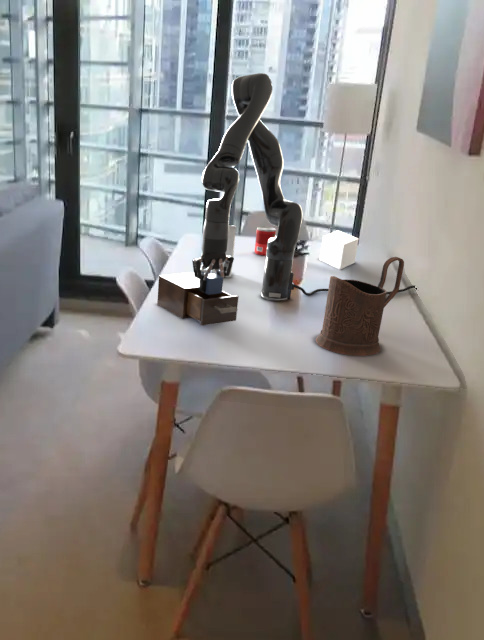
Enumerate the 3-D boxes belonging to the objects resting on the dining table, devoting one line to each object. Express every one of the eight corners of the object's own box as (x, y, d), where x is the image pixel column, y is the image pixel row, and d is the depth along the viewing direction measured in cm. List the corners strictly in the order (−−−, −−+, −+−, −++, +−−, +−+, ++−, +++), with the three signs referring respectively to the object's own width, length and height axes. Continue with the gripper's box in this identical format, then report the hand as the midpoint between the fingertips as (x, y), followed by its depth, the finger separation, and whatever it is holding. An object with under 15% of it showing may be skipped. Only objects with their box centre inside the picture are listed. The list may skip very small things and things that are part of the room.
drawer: (245, 325, 218) (248, 300, 214) (210, 330, 212) (213, 305, 209) (209, 307, 233) (211, 283, 230) (176, 311, 227) (178, 287, 224)
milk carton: (230, 278, 271) (235, 227, 263) (211, 276, 272) (215, 226, 264) (231, 273, 277) (236, 224, 270) (213, 271, 278) (217, 222, 271)
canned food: (274, 256, 306) (277, 230, 302) (255, 255, 306) (258, 229, 302) (271, 252, 313) (274, 226, 309) (253, 251, 313) (255, 226, 309)
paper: (321, 268, 291) (325, 243, 287) (317, 252, 317) (320, 228, 313) (358, 271, 289) (362, 246, 285) (351, 254, 315) (355, 231, 311)
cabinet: (219, 313, 230) (221, 284, 226) (182, 318, 224) (184, 288, 220) (192, 300, 243) (194, 271, 239) (157, 304, 236) (158, 275, 232)
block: (212, 288, 223) (214, 273, 221) (221, 293, 219) (223, 277, 217) (199, 290, 221) (200, 274, 219) (208, 294, 217) (209, 278, 215)
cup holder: (302, 336, 213) (314, 253, 204) (366, 328, 222) (381, 249, 213) (342, 358, 198) (357, 270, 188) (409, 349, 207) (427, 265, 197)
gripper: (227, 231, 220) (222, 285, 226) (188, 234, 213) (184, 289, 220) (242, 236, 214) (236, 291, 220) (202, 240, 207) (197, 296, 214)
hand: (210, 290), depth 220 cm, fingers closed on block, 5 cm apart
